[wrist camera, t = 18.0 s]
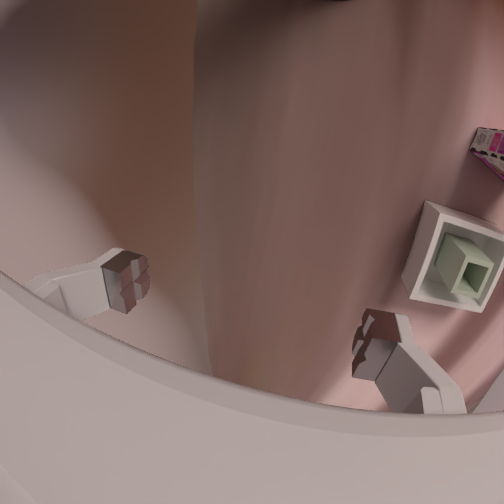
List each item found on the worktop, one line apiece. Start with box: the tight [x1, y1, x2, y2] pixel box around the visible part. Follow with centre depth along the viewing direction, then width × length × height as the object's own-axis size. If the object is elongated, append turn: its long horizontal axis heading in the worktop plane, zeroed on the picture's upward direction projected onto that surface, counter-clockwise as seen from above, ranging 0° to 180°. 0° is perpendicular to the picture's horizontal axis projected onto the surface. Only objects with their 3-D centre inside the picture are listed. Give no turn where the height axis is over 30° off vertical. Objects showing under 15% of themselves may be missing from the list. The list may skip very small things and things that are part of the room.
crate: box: [401, 200, 504, 313], centre depth 36 cm, size 14×16×7 cm
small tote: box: [434, 232, 494, 299], centre depth 34 cm, size 6×6×9 cm
